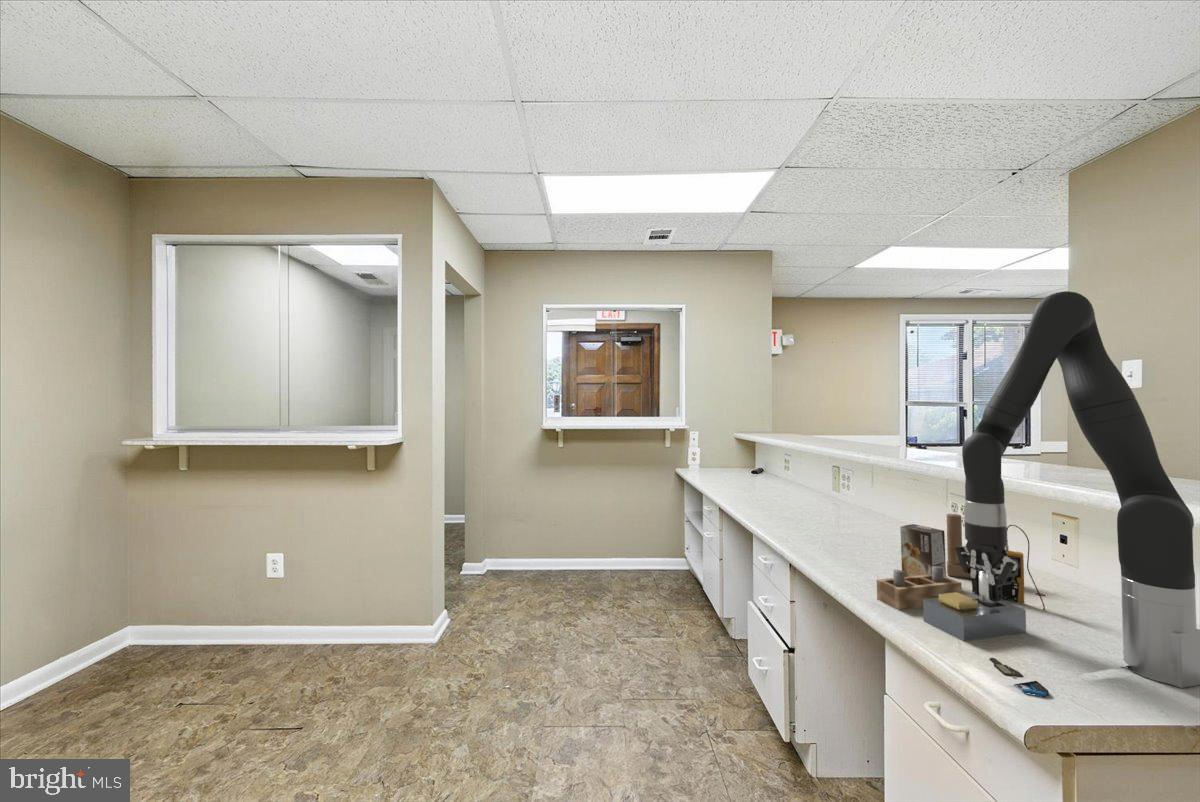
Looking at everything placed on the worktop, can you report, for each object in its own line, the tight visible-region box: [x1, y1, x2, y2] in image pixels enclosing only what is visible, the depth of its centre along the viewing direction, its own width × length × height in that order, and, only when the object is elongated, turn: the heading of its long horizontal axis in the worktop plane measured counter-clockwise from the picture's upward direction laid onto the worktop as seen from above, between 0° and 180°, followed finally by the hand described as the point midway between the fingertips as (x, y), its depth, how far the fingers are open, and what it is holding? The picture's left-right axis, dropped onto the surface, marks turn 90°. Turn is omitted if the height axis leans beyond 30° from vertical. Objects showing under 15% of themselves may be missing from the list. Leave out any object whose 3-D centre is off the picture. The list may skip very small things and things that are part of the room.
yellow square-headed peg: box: [939, 592, 978, 611], centre depth 109 cm, size 5×5×6 cm
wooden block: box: [946, 513, 973, 580], centre depth 144 cm, size 4×11×18 cm, turn 59°
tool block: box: [922, 593, 1027, 642], centre depth 110 cm, size 16×10×6 cm, turn 102°
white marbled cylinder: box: [978, 569, 996, 608], centre depth 111 cm, size 3×3×12 cm
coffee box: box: [899, 523, 947, 577], centre depth 138 cm, size 9×6×16 cm
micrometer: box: [988, 657, 1050, 697], centre depth 91 cm, size 12×2×5 cm
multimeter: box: [970, 524, 1046, 611], centre depth 123 cm, size 15×10×20 cm
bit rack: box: [876, 566, 963, 611], centre depth 125 cm, size 19×7×9 cm, turn 102°
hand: (987, 597), depth 111 cm, fingers closed on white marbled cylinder, 3 cm apart
